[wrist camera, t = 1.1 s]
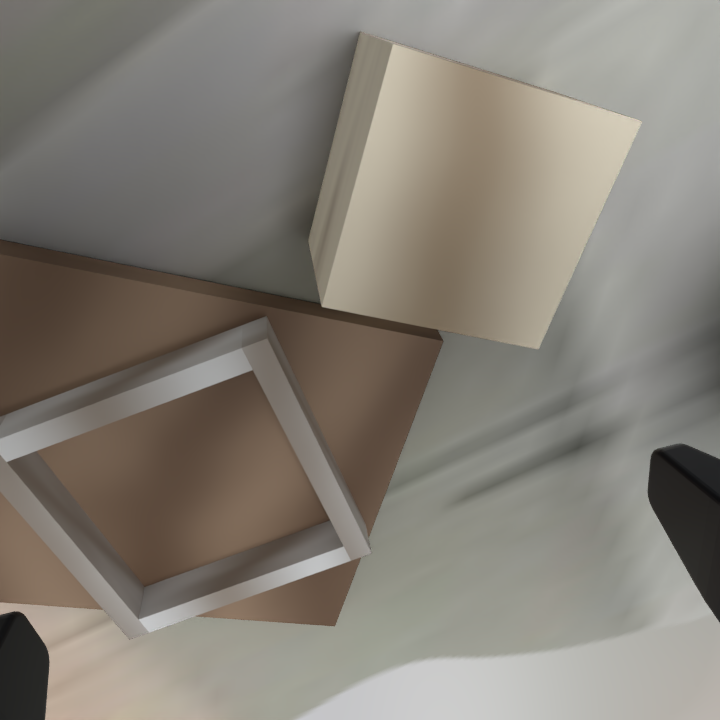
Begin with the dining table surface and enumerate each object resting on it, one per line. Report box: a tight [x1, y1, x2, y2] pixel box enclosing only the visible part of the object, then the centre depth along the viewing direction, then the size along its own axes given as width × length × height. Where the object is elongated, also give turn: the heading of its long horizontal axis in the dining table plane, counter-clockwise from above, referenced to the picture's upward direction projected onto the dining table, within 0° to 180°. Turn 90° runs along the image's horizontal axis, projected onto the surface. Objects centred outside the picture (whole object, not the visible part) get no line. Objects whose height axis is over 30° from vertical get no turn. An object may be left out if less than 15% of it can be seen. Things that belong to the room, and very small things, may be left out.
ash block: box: [308, 31, 642, 349], centre depth 17 cm, size 6×6×5 cm
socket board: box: [0, 240, 443, 640], centre depth 22 cm, size 14×14×2 cm
